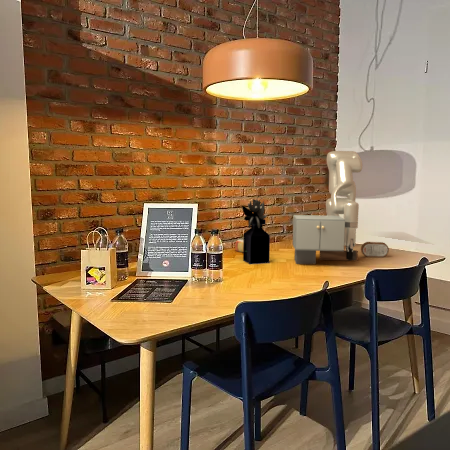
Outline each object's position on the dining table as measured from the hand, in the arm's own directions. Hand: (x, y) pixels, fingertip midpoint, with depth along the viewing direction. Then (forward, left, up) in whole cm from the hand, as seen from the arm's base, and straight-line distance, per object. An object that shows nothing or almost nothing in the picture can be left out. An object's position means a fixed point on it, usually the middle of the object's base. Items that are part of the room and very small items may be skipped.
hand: (348, 258), depth 234 cm
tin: (-11, +17, -1) cm, 20 cm away
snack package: (-12, -53, -1) cm, 54 cm away
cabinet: (+9, -18, -1) cm, 21 cm away
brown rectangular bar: (0, -6, -1) cm, 6 cm away
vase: (+11, -50, -1) cm, 52 cm away
